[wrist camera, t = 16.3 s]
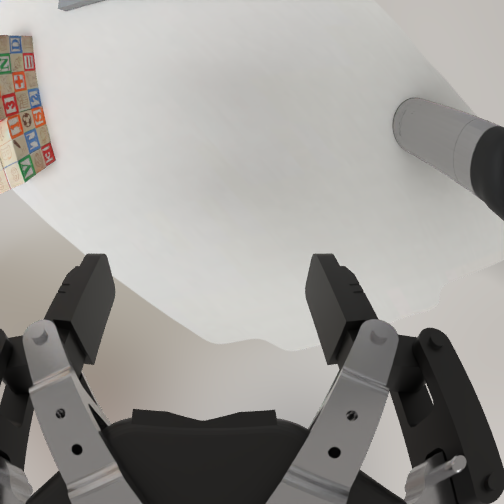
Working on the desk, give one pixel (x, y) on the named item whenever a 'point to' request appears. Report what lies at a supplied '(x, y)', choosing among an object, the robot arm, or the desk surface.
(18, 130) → the stack of blocks
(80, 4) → the tower base
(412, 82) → the desk surface
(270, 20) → the desk surface
